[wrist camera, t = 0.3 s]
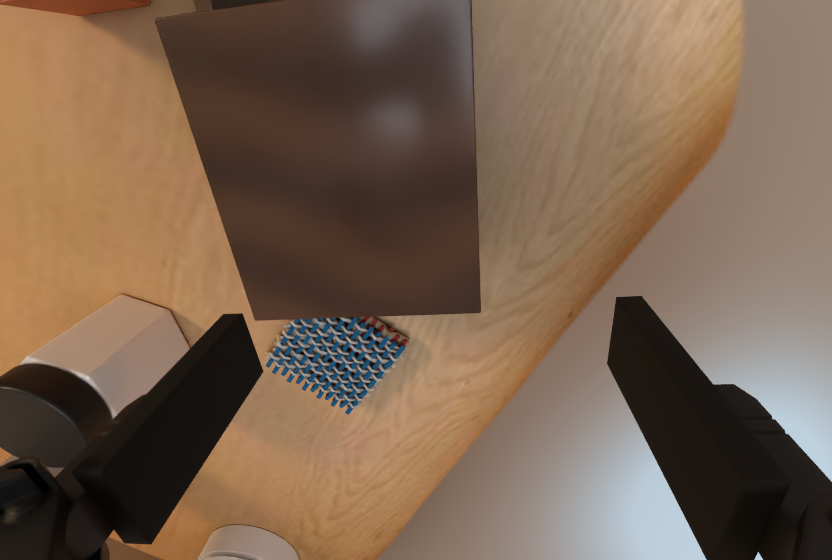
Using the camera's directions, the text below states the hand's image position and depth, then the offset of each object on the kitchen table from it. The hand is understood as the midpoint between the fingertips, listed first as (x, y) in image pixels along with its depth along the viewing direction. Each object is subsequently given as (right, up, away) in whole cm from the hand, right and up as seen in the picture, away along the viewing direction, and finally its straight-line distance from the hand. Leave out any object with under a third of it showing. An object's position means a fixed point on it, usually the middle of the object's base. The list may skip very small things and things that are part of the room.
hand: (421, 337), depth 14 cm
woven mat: (-7, -4, +23) cm, 25 cm away
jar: (-26, -3, +25) cm, 36 cm away
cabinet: (-3, +11, +14) cm, 19 cm away
